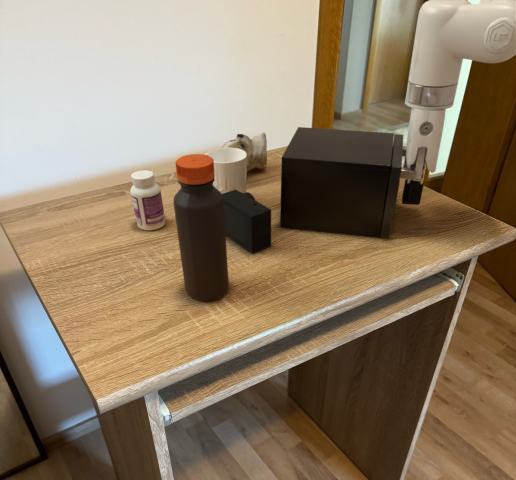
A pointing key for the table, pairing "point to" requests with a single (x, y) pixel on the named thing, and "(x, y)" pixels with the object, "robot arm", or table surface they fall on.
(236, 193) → the digital camera
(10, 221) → the table surface
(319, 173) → the oven
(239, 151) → the white cup
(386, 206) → the oven door
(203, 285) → the vinegar
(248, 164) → the ceramic sculpture
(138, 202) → the pill bottle
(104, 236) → the table surface
